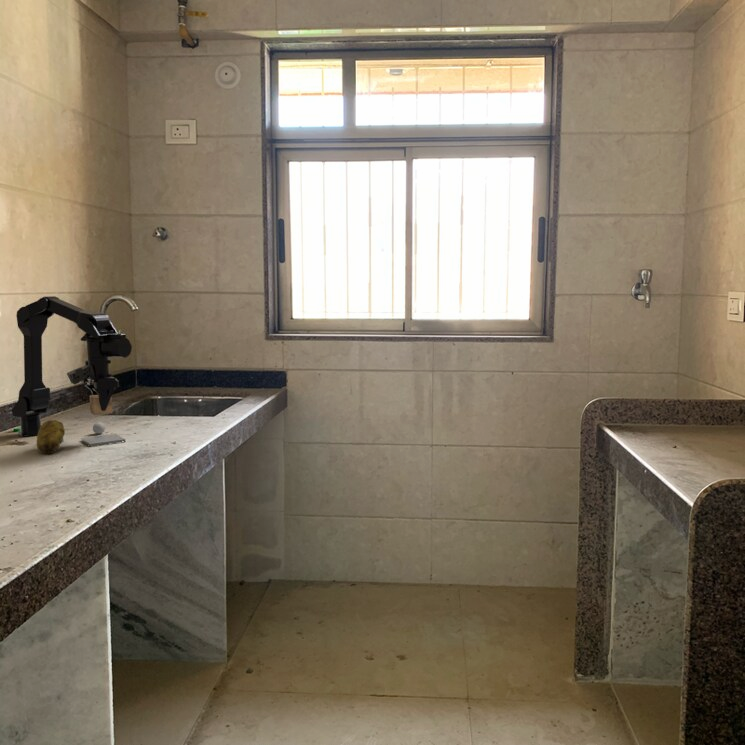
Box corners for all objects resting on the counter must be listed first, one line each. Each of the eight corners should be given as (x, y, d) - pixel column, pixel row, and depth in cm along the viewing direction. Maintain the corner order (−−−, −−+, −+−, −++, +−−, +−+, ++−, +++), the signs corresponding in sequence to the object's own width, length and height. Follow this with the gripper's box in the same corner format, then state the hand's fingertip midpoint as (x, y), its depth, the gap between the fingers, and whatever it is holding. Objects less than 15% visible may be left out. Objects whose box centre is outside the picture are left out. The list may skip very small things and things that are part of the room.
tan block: (90, 412, 211) (89, 395, 210) (107, 410, 214) (106, 394, 213) (94, 414, 207) (93, 397, 206) (112, 412, 210) (111, 396, 209)
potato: (25, 456, 194) (22, 427, 193) (46, 445, 207) (44, 418, 206) (55, 455, 194) (53, 426, 193) (74, 445, 207) (73, 417, 206)
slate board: (81, 440, 212) (81, 438, 212) (115, 436, 218) (115, 433, 218) (90, 446, 204) (89, 444, 204) (125, 441, 210) (125, 439, 210)
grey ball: (91, 433, 222) (90, 422, 222) (103, 432, 225) (102, 420, 224) (94, 435, 220) (94, 424, 219) (106, 434, 222) (106, 422, 221)
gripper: (61, 355, 211) (64, 408, 213) (76, 361, 196) (80, 417, 198) (100, 353, 217) (103, 404, 219) (118, 358, 202) (121, 412, 204)
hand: (101, 409), depth 210 cm, fingers closed on tan block, 5 cm apart
